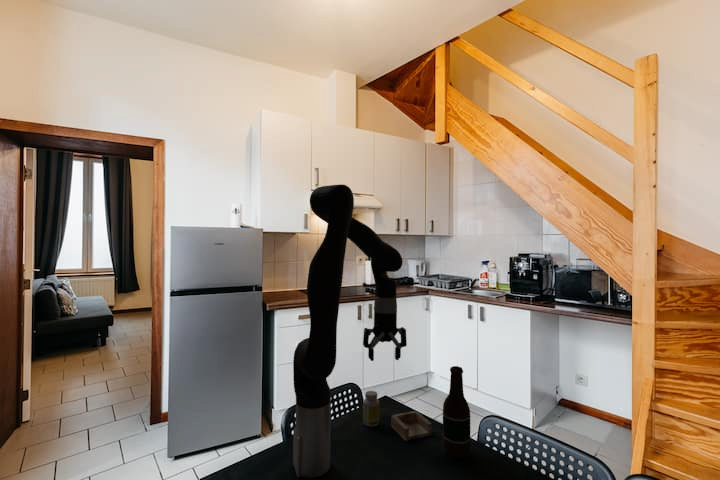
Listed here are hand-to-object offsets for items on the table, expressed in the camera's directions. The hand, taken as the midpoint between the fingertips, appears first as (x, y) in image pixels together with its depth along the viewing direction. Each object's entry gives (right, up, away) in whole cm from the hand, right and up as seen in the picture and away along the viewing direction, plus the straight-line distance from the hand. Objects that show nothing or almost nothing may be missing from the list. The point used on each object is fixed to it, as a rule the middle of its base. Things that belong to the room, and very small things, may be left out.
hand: (384, 359), depth 115 cm
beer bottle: (+19, -21, -15) cm, 33 cm away
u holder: (+8, -21, -4) cm, 23 cm away
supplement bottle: (-4, -22, +1) cm, 22 cm away
